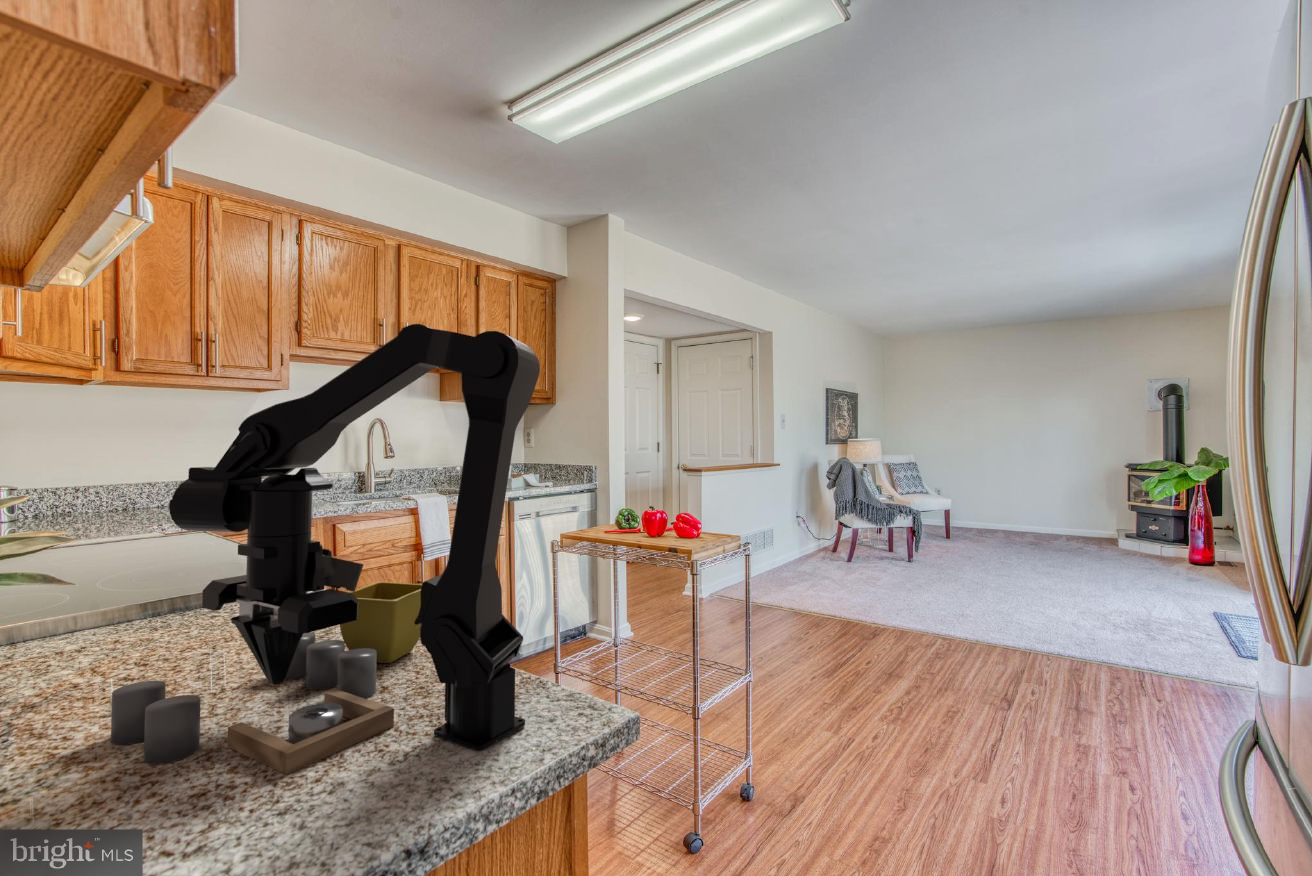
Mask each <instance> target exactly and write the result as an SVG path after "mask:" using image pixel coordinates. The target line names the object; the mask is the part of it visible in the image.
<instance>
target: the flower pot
mask: <svg viewBox="0 0 1312 876" xmlns="http://www.w3.org/2000/svg"><path fill="white" fill-rule="evenodd" d="M421 587H422V583H421V584H419V583H406V582H390V581H388V582H387V581H377V582H374V583H370V584H367V585H366V586H363V587H360V588H356V589H355V591H348V592H349V593H351V594H353V595H354V596H355V597H356V598H357V599H358V600H359V614H358V619H357V620H355V621H351V622H348V623H344V624H340V625H339V628H340V633H341V638H342V641H344V642H345V647H346V648H347V649H348V650H353V649H360V648H370V649H374V650H376V651H377V657H376V663H381V664H382V663H383V664H390V663H393V662H394V661H396V660H399V659H400V658H401V657H403V656H405V655H407V654H409V653H410V652H412V651H413V649H414V648H415V647H416V645H417V644H418V642H419V639H420V626H421V623H420V624H417V625H415V624H414V622H415V620H416V618H417V616H418V614H419V611H420V606H421Z"/></svg>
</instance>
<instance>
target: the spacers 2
mask: <svg viewBox="0 0 1312 876" xmlns="http://www.w3.org/2000/svg"><path fill="white" fill-rule="evenodd" d="M345 650H346V644H345V642H344V640H340V639H329V640H328V639H327V640H321V641H316V633H315V632H309V633H303V635H302V637H301V639H300V641H299V644H298V646H297V649H296V651H295V654H294V656H293V659H292V662H291V664H290V667H289V670H288V672H287V675H286V678H285V680H286V681H287V680H291V681H292V680H298V679H303V678H305V688H307V689H308V690H313V691H319V690H327V689H331V688H334V687H337V688H336V689H337V690H340V691H343V692H346V693H349V694H352V695H355V696H358V697H361V698H364V699H367V698H369V697H372V696H373V695H374V694H375V693H376V692H377V662H376V657H377V651H376V650H374V649H370V648H360V649H353V650H349V649H348V650H346V651H345ZM285 680H284V681H285Z"/></svg>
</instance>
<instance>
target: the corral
mask: <svg viewBox="0 0 1312 876" xmlns="http://www.w3.org/2000/svg"><path fill="white" fill-rule="evenodd" d="M323 698H324V699H323V703H336V704H339V705H341V706H342V707H343V717H344V718H347V719H349V720H348V721H347V722H343V723H342V724H341V725H339V726H336V727H334V728H331V729H329V730H327V731H324V732H322V733H319V734H317V735H315V736H312V737H310V738H307V739H305V740H302V741H300V742H298V743H295V744H291V743H289V742H288V740H284V739H282V738H280V737H277V736H274V735H272V734H270V733H268V732H266V731H264V730H261V729H258V728H257V727H254V726H251V725H250V724H247V723H245V722H242V721H241V722H238V723H235V724H233V725H230V726H227V748H230V749H232V750H234V751H236V752H238V753H240V754H242V755H243V756H244V755H245V756H247V757H249V758H250V759H253V760H255V761H257V762H259V763H262V764H263V765H265V766H268V767H270V768H271V769H274V770H276V771H278V772H280V773H282V774H283V775H284V774H285V776H286V775H289V774H292V773H293V772H296V771H298V770H300V769H302V768H305V767H307V766H309V765H312V764H314V763H315V762H317V761H320V760H322V759H324V758H326V757H328V756H329V757H330V756H331V755H333V754H336V753H338V752H340V751H342V750H345V749H347V748H349V747H351V746H354V745H355V744H357V743H361V742H362V741H365V740H367V739H369V738H371V737H373V736H376V735H378V734H380V733H382V732H384V731H386V730H389V729H391V728H393V727H394V726H395V709H394V707H391V706H388V705H384V704H383V703H378V702H376V701H372V700H371V699H367V698H361V697H358V696H355V695H352V694H349V693H346V692H343V691H340V690H337V688H333V689H331V690H328V691H326V692H324V695H323Z"/></svg>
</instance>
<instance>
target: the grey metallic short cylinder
mask: <svg viewBox="0 0 1312 876" xmlns="http://www.w3.org/2000/svg"><path fill="white" fill-rule="evenodd" d="M343 717H344V716H343V707H342V706H341V705H339V704H336V703H324V702H320V703H314V704H310V705H306V706H304V707H303V706H302V707H301V708H298V709H296V710H295V711H293V712H292V713H290V715H288V730H287V731H288V734H287V735H288V736H287V742H289V743H291V744H295V743H298V742H300V741H302V740H305V739H307V738H310V737H312V736H315V735H317V734H319V733H322V732H324V731H327V730H329V729H331V728H334V727H336V726H339V725H341V724H344V722H343V721H344V720H343Z"/></svg>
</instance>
